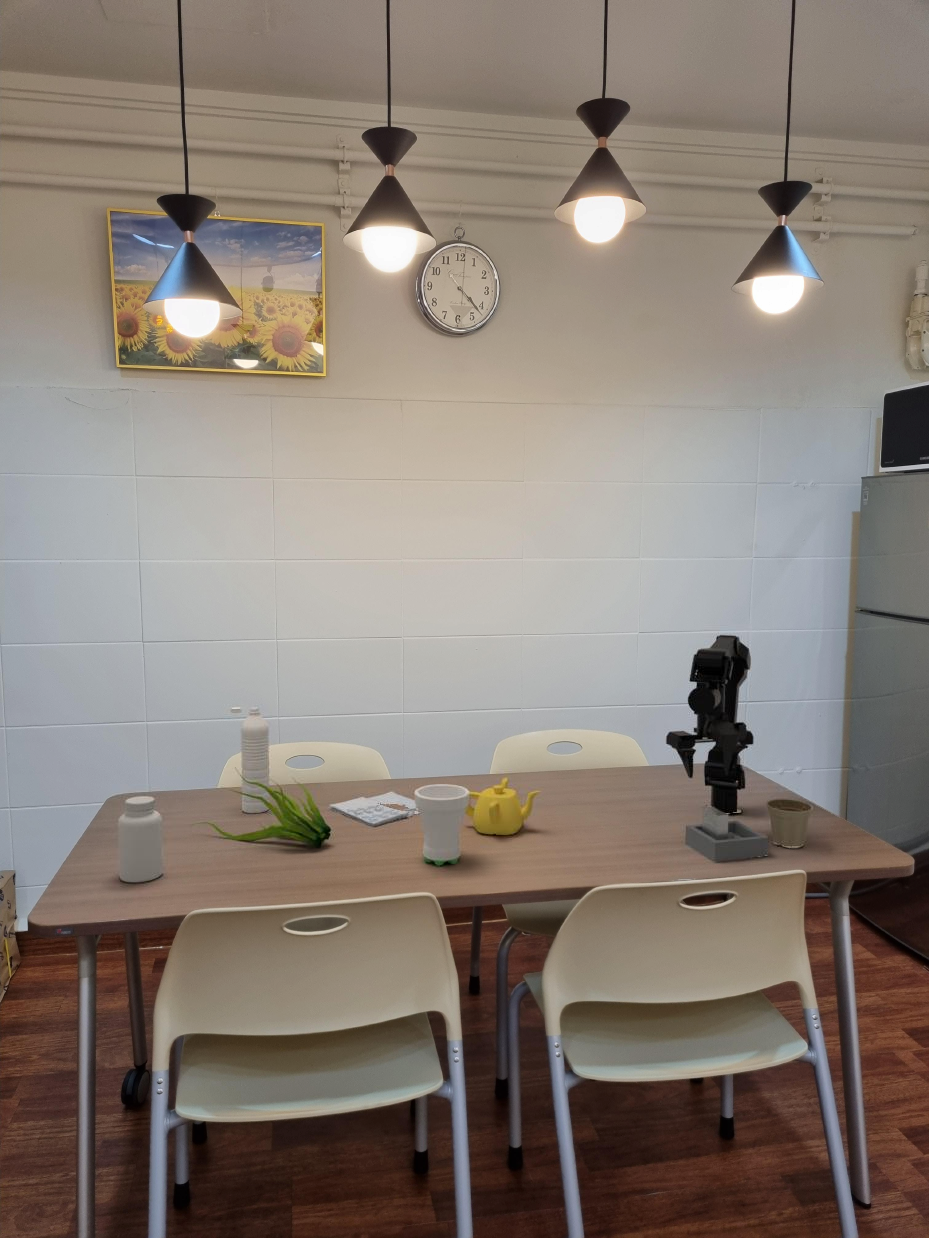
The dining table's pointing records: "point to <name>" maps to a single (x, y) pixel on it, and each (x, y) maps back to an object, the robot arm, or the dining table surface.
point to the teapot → (499, 810)
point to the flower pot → (789, 821)
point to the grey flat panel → (376, 808)
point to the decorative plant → (287, 820)
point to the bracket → (716, 824)
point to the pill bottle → (140, 841)
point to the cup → (442, 820)
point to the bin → (728, 843)
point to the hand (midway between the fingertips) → (709, 776)
